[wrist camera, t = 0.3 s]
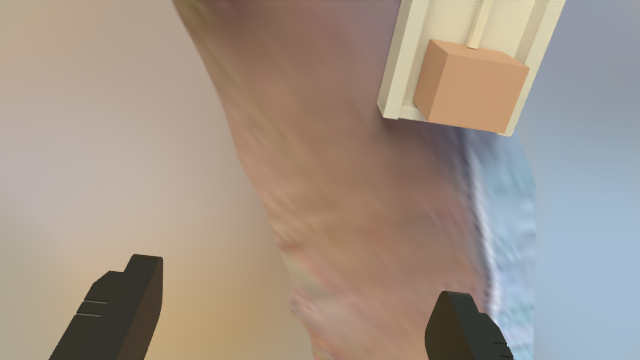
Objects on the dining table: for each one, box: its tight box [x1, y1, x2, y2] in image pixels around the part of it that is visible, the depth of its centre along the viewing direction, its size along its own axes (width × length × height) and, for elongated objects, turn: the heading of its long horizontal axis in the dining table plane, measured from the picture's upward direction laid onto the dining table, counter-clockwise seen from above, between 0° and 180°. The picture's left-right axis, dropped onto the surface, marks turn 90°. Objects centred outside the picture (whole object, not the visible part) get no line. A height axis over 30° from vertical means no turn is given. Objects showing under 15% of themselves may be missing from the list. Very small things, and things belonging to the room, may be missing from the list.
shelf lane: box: [377, 0, 566, 137], centre depth 35 cm, size 13×11×4 cm
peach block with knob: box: [413, 0, 530, 133], centre depth 32 cm, size 17×6×6 cm, turn 170°
